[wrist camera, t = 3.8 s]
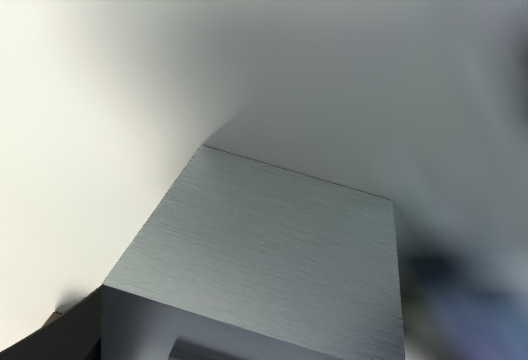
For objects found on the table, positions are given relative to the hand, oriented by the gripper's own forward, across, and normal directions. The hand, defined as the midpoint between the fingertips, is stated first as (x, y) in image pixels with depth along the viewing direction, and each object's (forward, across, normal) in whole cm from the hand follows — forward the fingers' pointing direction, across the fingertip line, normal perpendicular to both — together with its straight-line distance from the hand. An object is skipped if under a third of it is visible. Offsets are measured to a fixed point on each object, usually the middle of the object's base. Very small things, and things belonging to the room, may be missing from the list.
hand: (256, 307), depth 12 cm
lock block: (+1, 0, 0) cm, 1 cm away
